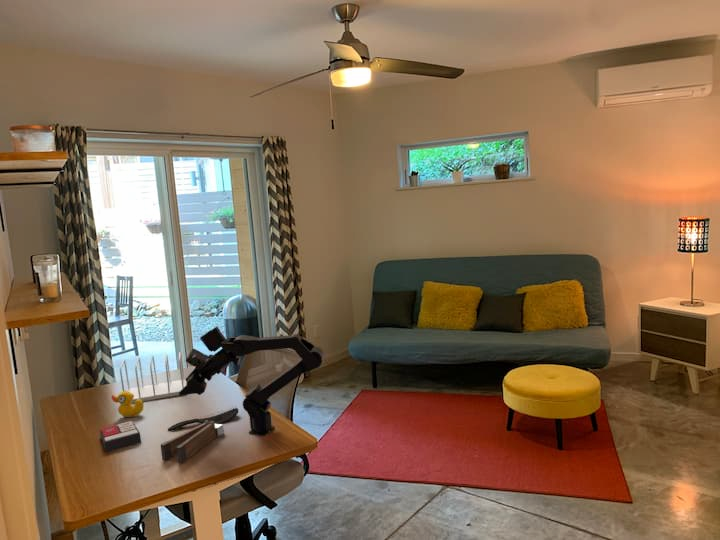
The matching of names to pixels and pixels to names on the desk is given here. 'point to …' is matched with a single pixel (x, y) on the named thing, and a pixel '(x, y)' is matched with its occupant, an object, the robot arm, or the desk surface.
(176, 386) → the file sorter
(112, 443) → the calculator
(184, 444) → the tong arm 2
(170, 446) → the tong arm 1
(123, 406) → the duckling
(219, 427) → the tong hinge block
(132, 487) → the desk surface
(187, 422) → the hairbrush
